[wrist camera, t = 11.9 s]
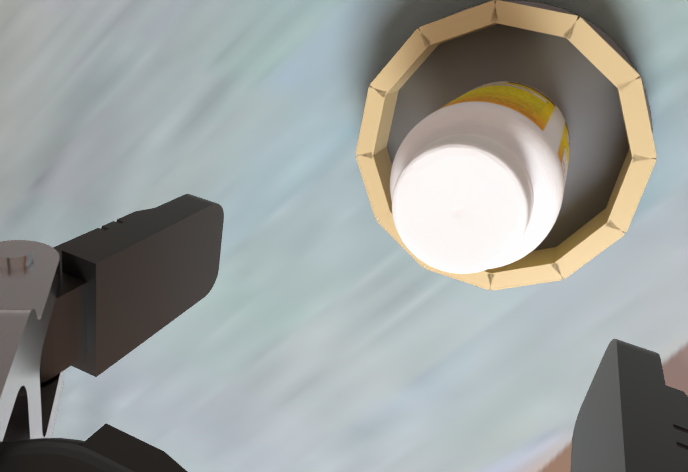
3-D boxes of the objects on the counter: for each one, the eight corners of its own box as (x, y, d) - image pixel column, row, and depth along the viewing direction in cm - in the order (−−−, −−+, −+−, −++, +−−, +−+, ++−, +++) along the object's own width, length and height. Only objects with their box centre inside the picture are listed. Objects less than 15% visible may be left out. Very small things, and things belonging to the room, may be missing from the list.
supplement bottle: (419, 116, 27) (333, 164, 18) (537, 55, 24) (504, 74, 15) (473, 225, 28) (415, 322, 19) (593, 176, 25) (593, 262, 16)
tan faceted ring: (406, -24, 26) (386, -28, 23) (700, 34, 23) (714, 36, 20) (356, 223, 31) (334, 242, 28) (591, 299, 28) (591, 328, 25)
